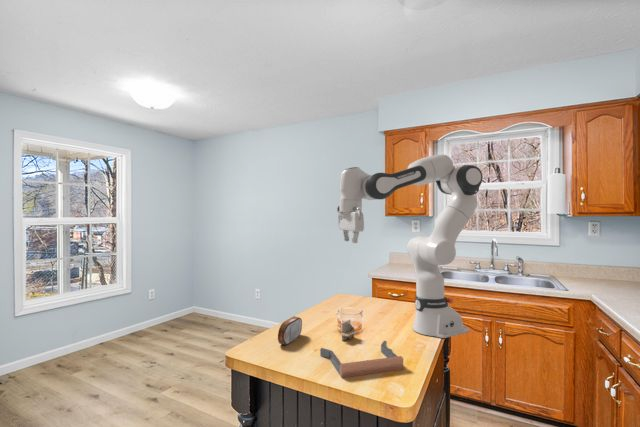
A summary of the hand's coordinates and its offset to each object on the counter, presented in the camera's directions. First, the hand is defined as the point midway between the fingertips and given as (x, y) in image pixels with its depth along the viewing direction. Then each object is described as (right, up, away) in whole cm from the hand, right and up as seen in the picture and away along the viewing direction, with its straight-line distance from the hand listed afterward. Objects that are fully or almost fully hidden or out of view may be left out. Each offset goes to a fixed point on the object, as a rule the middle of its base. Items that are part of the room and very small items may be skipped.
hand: (350, 242), depth 131 cm
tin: (-23, -38, -5) cm, 45 cm away
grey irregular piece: (-1, -38, -4) cm, 39 cm away
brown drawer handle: (+2, -38, -24) cm, 45 cm away
